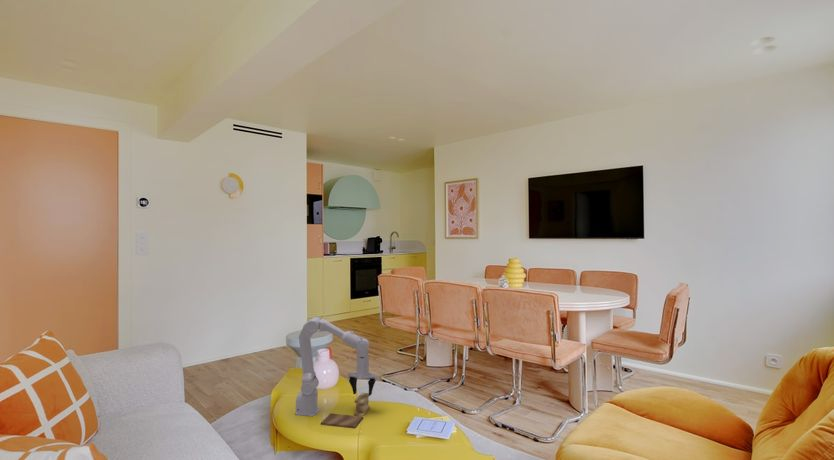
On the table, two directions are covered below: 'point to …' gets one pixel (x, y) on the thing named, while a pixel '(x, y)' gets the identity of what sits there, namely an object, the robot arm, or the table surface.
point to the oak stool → (362, 404)
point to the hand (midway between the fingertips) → (362, 394)
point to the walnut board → (342, 420)
